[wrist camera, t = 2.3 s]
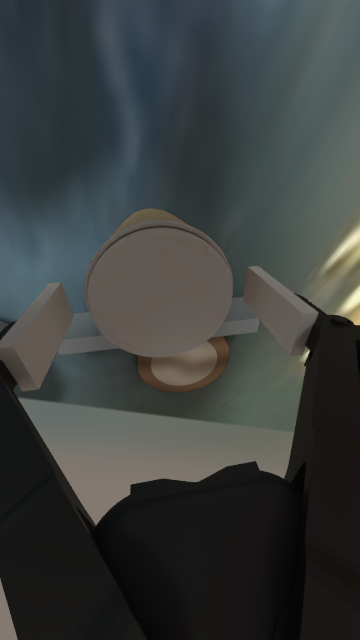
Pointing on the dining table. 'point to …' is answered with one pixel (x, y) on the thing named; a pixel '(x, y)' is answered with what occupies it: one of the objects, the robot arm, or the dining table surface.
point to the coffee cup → (158, 286)
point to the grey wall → (90, 339)
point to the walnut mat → (186, 367)
